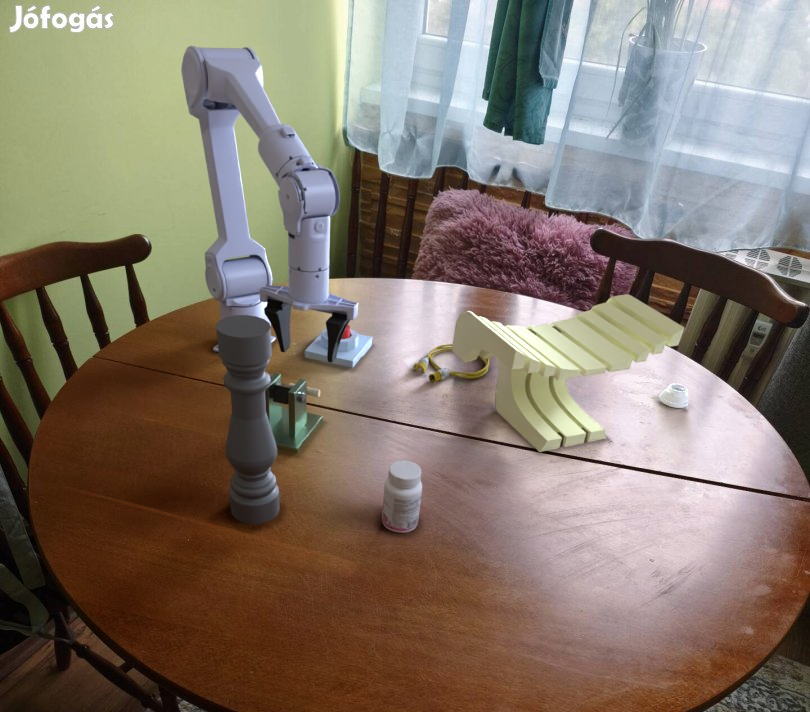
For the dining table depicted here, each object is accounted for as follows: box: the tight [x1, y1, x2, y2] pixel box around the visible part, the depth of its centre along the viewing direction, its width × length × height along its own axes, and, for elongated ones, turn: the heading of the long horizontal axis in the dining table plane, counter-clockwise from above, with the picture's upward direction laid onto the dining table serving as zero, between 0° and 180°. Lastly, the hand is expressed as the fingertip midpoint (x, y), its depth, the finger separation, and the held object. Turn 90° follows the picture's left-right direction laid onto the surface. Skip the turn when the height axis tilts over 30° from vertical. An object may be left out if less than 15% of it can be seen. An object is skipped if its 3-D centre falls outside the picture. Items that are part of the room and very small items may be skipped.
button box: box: [304, 327, 373, 369], centre depth 125 cm, size 11×9×4 cm
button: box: [341, 324, 351, 339], centre depth 123 cm, size 4×4×2 cm
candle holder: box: [215, 315, 281, 525], centre depth 81 cm, size 6×6×25 cm
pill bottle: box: [381, 460, 423, 534], centre depth 87 cm, size 5×5×8 cm
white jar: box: [658, 383, 690, 409], centre depth 122 cm, size 5×3×5 cm
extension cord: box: [413, 343, 490, 384], centre depth 125 cm, size 12×16×2 cm
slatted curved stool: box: [451, 294, 685, 453], centre depth 108 cm, size 30×16×18 cm, turn 115°
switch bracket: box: [265, 372, 324, 454], centre depth 101 cm, size 10×8×8 cm
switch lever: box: [273, 382, 321, 406], centre depth 103 cm, size 10×5×2 cm, turn 165°
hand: (308, 354), depth 106 cm, fingers open, 7 cm apart
